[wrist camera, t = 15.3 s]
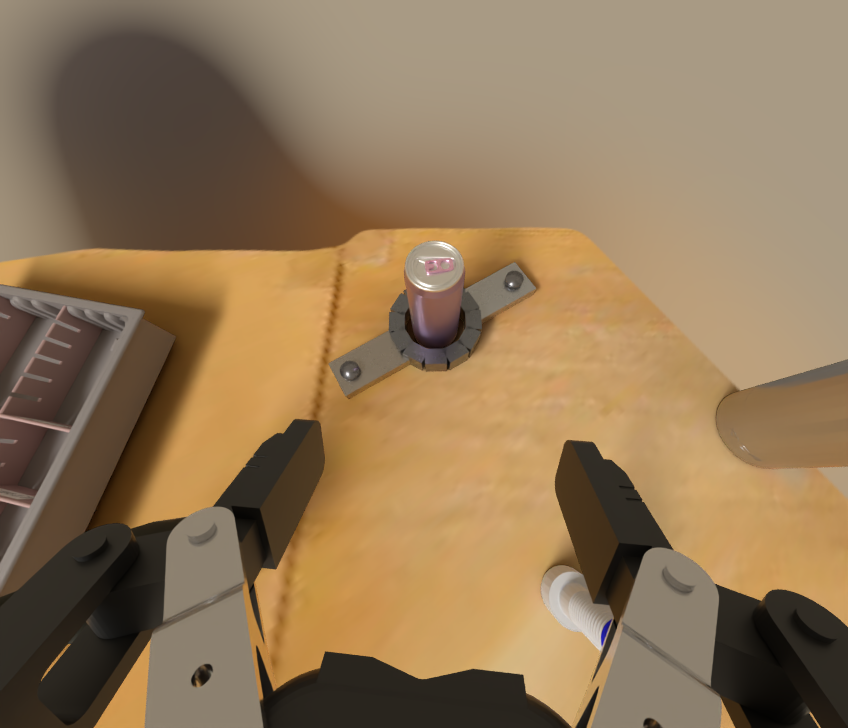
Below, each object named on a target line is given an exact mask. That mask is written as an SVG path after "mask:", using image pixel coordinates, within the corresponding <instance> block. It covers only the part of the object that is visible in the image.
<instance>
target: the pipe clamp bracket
mask: <svg viewBox="0 0 848 728" xmlns="http://www.w3.org/2000/svg"><path fill="white" fill-rule="evenodd" d="M535 290H536V287H535V286H534V285H533V284H532V282H531V281H530V280H529V279H528V278H527V276H526V275H525V274H524V273H523V271H522V270H521V269H520V268H519V267H518V265H517V264H516V263H515V262H514V263H512V264H510V265H508V266H506V267H504V268H503V269H501V270H499V271H497V272H495V273H493V274H492V275H490V276H488V277H486V278H484V279H482V280H481V281H479V282H477V283H475V284H473V285H471V286H470V287H468V288H466V289H464V288H463V293H462V301H461V308H460V316H459V317H460V318H461V320H462V321H463V322H464V331H463V333H462V335H461V337H460V338H459V340H458V341H456V342H455V343H453V344H451V345H449V346H448V347H446V348H443V349H427V348H425V347H423V346H421V345H419V344H417V343H415V342H413V341H412V339H411V338H410V336H409V335H408V333H407V323H408V321H409V320H410V318H411V315H410V309H409V302H408V296H407V290H404V294H402V293H401V294H400V295H399V297H398V298H397V300H396V301H395V303H394V304H393V306H392V307H391V312H389V331H387V332H385V333H383V334H382V335H380V336H378V337H376V338H374V339H372V340H371V341H369V342H367V343H365V344H363V345H361V346H360V347H358V348H356V349H354V350H352V351H350V352H349V353H347V354H345V355H343V356H341V357H340V358H338V359H336V360H334V361H332V362H330V363H329V366H330V368H331V369H332V371H333V373H334V375H335V377H336V379H337V381H338V383H339V385H340V387H341V389H342V391H343V392H344V394H345V396H346V397H347V398H348V399H350V398H351V397H353V396H355V395H357V394H358V393H360V392H362V391H364V390H365V389H367V388H369V387H371V386H373V385H374V384H376V383H378V382H380V381H381V380H383V379H385V378H387V377H388V376H390V375H392V374H394V373H396V372H397V371H399V370H401V369H403V368H404V367H406V366H408V365H410V364H411V365H413V366H415V367H416V368H418V369H420V370H422V371H423V369H424V367H425V369H426V371H446V370H447V367H448V368H449V370H451V369H453V368H454V367H456V366H458V365H459V364H461V363H463V362H465V361H466V360H467V358H468V357H469V358H470V356H471V354H472V352H473V350H474V349H475V347H476V345H477V343H478V341H479V338H480V335H481V331H482V323H484V322H486V321H487V320H489V319H491V318H493V317H494V316H496V315H498V314H500V313H502V312H503V311H505V310H507V309H509V308H510V307H512V306H514V305H516V304H517V303H519V302H521V301H523V300H524V299H526V298H528V297H530V296H532V295H533V294H534V292H535Z"/></svg>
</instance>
